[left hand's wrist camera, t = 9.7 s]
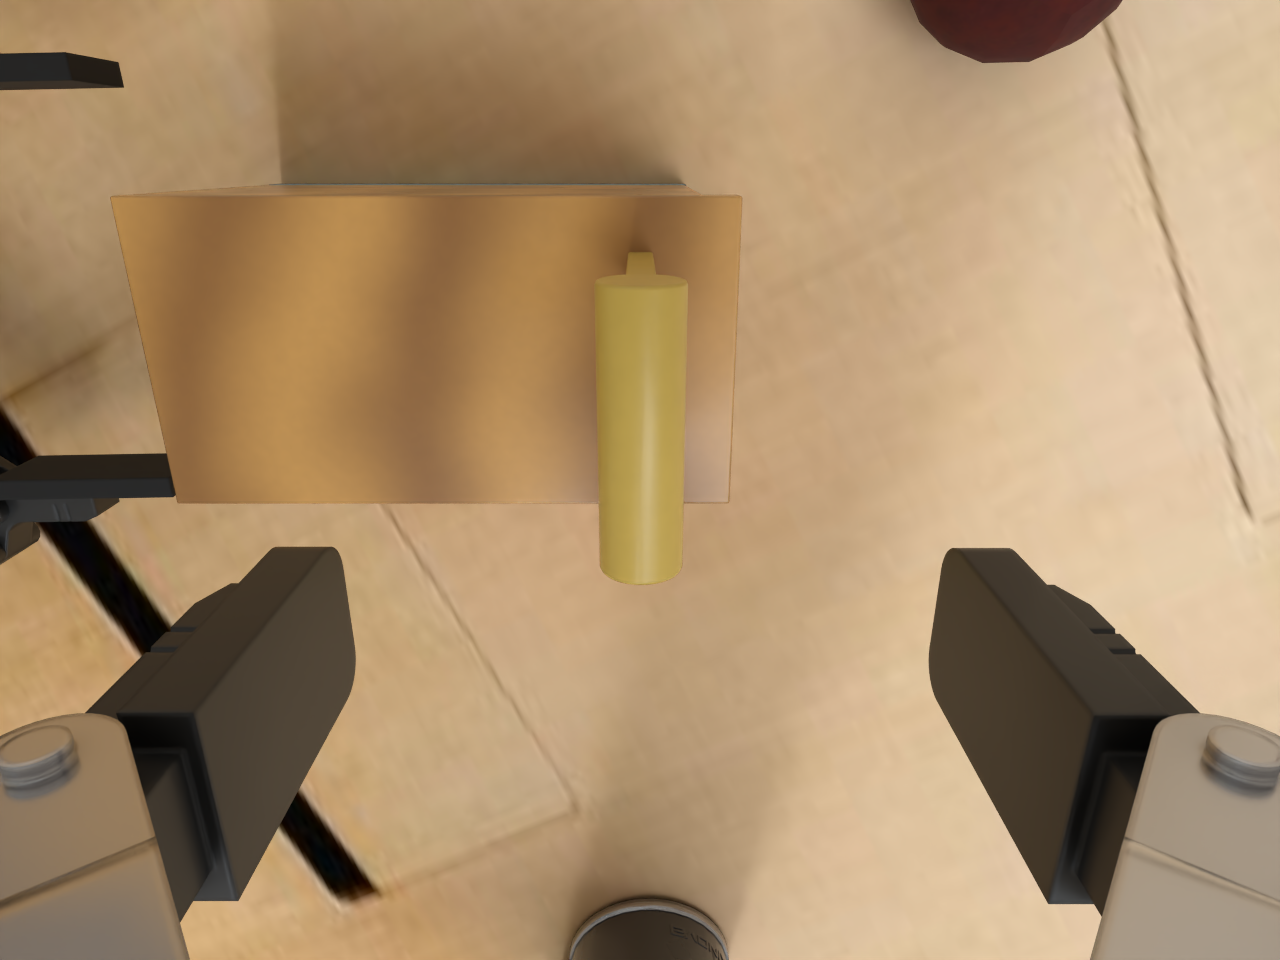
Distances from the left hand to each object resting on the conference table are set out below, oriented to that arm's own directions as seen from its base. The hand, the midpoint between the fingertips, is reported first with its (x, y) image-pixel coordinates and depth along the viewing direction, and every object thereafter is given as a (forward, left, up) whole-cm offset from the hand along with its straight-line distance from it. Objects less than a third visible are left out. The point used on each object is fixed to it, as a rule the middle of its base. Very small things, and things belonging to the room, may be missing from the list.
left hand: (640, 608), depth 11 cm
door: (-4, +4, -15) cm, 16 cm away
